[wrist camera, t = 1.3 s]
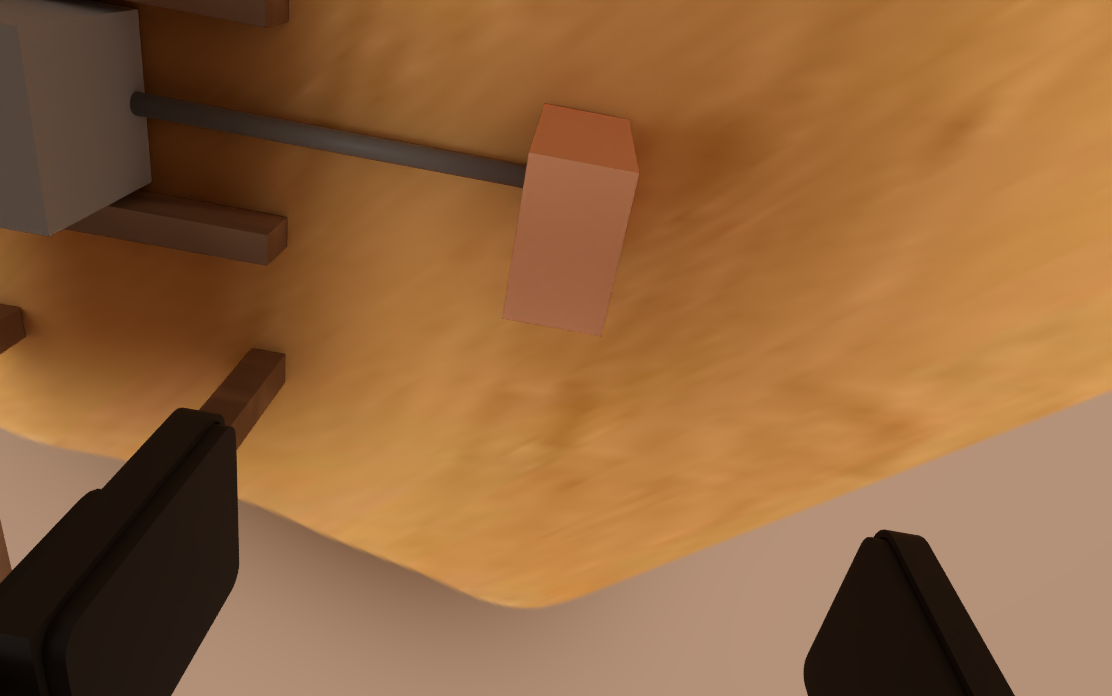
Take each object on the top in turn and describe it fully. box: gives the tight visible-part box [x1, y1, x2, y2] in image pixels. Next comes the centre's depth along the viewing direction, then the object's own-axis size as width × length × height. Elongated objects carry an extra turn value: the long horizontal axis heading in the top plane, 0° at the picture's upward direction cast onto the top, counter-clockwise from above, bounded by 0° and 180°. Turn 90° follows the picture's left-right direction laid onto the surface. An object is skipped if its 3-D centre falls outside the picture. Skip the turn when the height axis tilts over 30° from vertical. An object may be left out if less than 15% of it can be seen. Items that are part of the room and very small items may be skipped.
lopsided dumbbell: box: [0, 0, 639, 336], centre depth 24 cm, size 6×23×7 cm, turn 80°
